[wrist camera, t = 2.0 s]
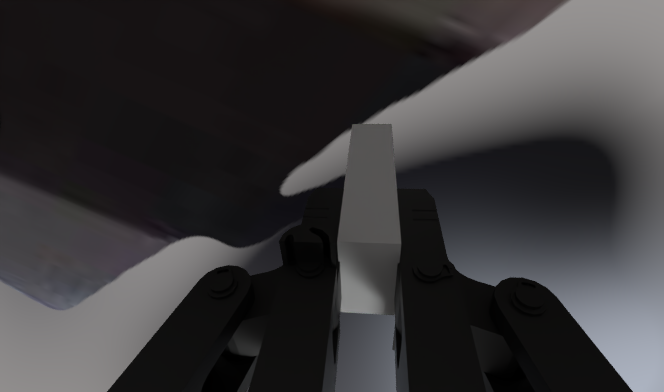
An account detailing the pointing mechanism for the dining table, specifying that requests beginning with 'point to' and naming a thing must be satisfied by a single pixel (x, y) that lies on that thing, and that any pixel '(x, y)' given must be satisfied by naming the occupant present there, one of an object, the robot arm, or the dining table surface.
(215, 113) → the dining table surface
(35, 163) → the dining table surface
